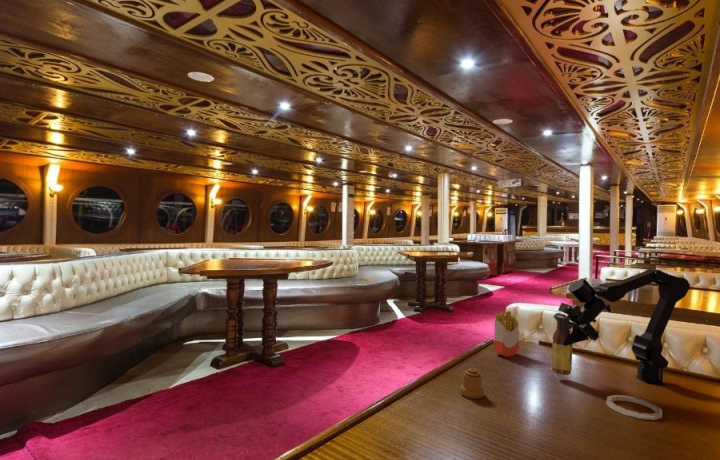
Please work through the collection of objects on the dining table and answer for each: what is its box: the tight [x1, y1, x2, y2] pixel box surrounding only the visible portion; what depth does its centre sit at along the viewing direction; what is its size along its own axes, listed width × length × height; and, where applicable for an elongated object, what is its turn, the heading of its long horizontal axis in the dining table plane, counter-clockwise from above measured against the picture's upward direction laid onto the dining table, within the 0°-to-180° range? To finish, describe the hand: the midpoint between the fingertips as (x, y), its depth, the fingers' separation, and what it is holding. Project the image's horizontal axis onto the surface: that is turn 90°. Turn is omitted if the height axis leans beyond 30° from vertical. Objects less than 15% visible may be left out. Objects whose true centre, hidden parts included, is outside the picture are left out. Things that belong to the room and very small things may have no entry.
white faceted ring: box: [606, 394, 663, 421], centre depth 115 cm, size 13×13×1 cm
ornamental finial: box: [459, 367, 486, 400], centre depth 121 cm, size 8×8×8 cm
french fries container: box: [493, 310, 520, 358], centre depth 164 cm, size 5×11×18 cm, turn 122°
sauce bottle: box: [551, 315, 573, 376], centre depth 137 cm, size 6×6×20 cm
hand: (558, 342), depth 137 cm, fingers closed on sauce bottle, 6 cm apart
